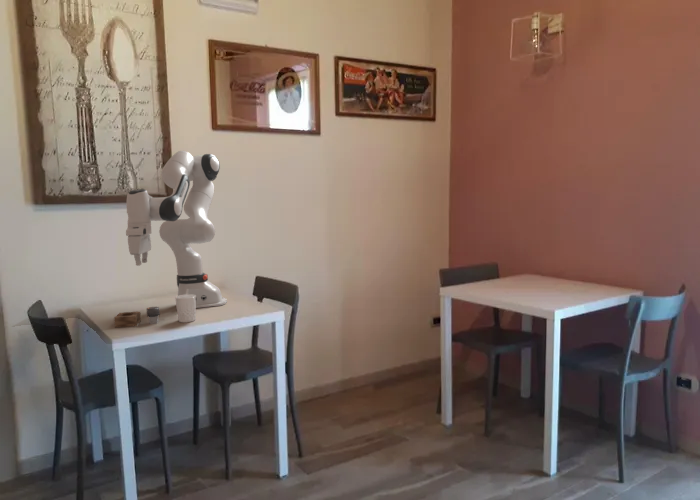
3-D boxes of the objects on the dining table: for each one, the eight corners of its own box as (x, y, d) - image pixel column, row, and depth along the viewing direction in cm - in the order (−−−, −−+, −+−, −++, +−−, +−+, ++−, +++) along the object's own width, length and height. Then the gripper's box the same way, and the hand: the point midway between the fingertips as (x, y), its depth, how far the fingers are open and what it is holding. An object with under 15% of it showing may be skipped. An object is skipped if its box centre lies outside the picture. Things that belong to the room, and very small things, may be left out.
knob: (161, 320, 231) (160, 306, 230) (159, 323, 226) (157, 308, 225) (149, 321, 230) (147, 306, 229) (146, 324, 225) (145, 309, 225)
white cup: (179, 318, 233) (177, 294, 232) (198, 317, 234) (197, 293, 233) (175, 323, 226) (173, 298, 224) (195, 322, 226) (193, 297, 225)
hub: (140, 321, 231) (140, 311, 231) (136, 326, 223) (135, 315, 223) (120, 322, 230) (119, 312, 230) (115, 327, 222) (114, 317, 222)
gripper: (138, 228, 238) (140, 261, 239) (124, 231, 218) (126, 267, 219) (153, 228, 239) (155, 260, 240) (141, 231, 218) (143, 266, 220)
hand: (141, 264), depth 229 cm, fingers open, 8 cm apart
